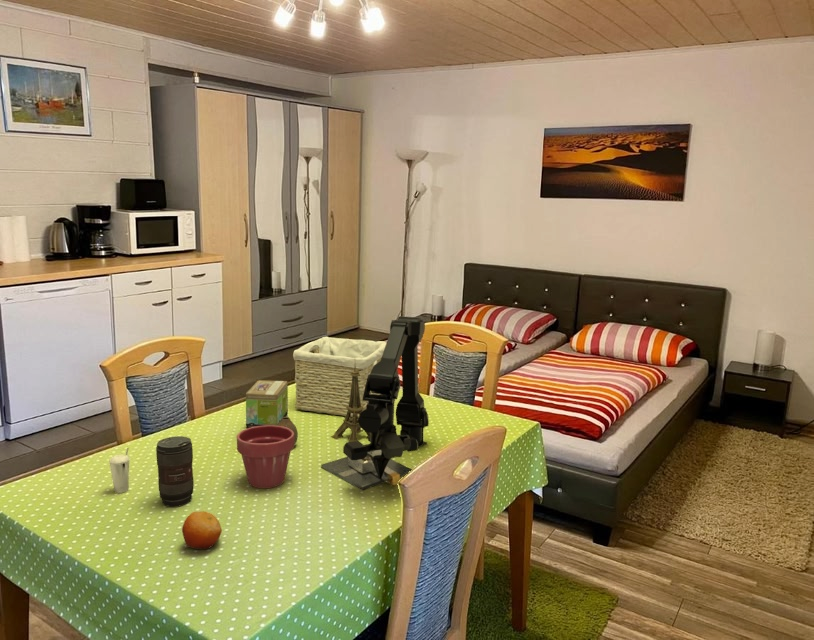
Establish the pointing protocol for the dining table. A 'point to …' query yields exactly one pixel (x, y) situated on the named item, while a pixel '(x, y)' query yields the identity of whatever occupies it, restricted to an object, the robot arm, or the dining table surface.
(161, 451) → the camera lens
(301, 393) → the basket
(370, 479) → the post base
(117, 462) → the milkshake
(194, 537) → the fruit
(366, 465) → the square nut with handle
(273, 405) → the tea box
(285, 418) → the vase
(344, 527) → the dining table surface
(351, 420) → the eiffel tower
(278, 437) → the plant pot
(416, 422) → the robot arm
